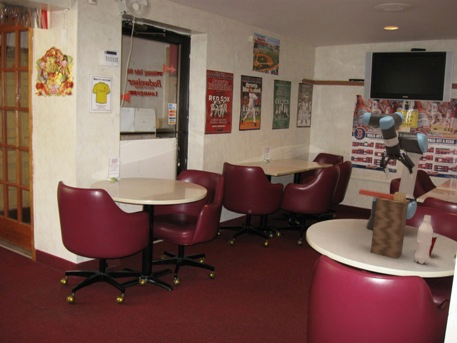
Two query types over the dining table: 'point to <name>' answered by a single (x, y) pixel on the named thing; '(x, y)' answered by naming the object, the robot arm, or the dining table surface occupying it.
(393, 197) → the lever
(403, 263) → the dining table surface
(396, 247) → the stand
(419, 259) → the water bottle
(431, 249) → the plastic cup
